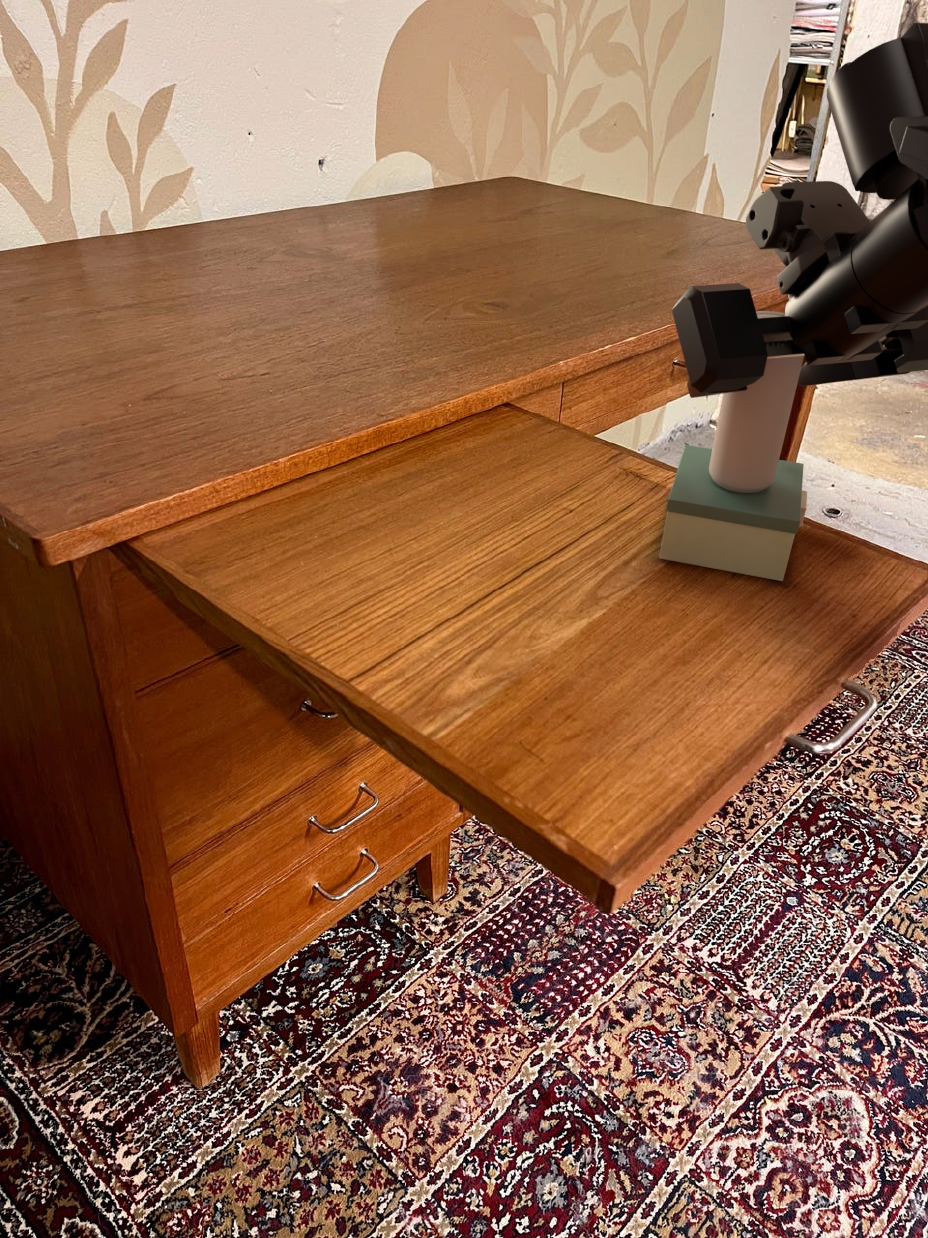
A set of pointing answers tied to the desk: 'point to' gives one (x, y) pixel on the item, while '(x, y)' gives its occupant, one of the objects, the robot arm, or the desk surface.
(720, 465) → the beverage can
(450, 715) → the desk surface
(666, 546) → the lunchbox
